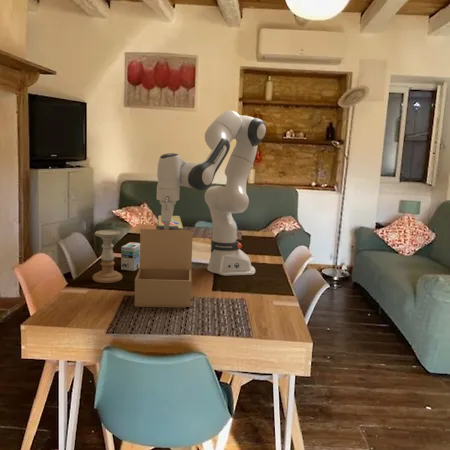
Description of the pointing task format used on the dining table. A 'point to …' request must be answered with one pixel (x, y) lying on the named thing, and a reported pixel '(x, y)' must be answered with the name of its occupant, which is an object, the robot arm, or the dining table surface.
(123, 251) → the light bulb box
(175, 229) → the cardboard box lid
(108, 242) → the candle holder
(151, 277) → the carton
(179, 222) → the soda box
